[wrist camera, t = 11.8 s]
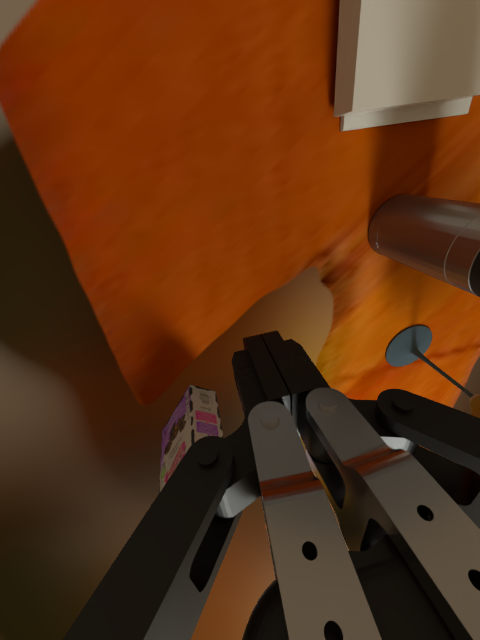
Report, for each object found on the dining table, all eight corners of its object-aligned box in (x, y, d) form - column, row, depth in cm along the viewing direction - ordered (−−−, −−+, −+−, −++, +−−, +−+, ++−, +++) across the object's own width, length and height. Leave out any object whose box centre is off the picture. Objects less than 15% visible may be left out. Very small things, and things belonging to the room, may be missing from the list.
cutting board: (508, -63, 28) (516, -68, 27) (462, 114, 36) (467, 113, 35) (352, -54, 26) (356, -60, 25) (339, 131, 34) (343, 130, 33)
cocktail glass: (458, 302, 54) (640, 391, 33) (432, 368, 63) (561, 470, 42) (378, 318, 51) (518, 425, 30) (363, 385, 61) (463, 501, 40)
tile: (340, -35, 26) (481, -44, 28) (332, 117, 32) (447, 102, 34) (366, -68, 22) (527, -76, 24) (352, 111, 28) (480, 94, 30)
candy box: (189, 383, 50) (194, 467, 36) (216, 390, 52) (231, 472, 38) (161, 430, 55) (155, 520, 41) (187, 435, 57) (190, 522, 43)
